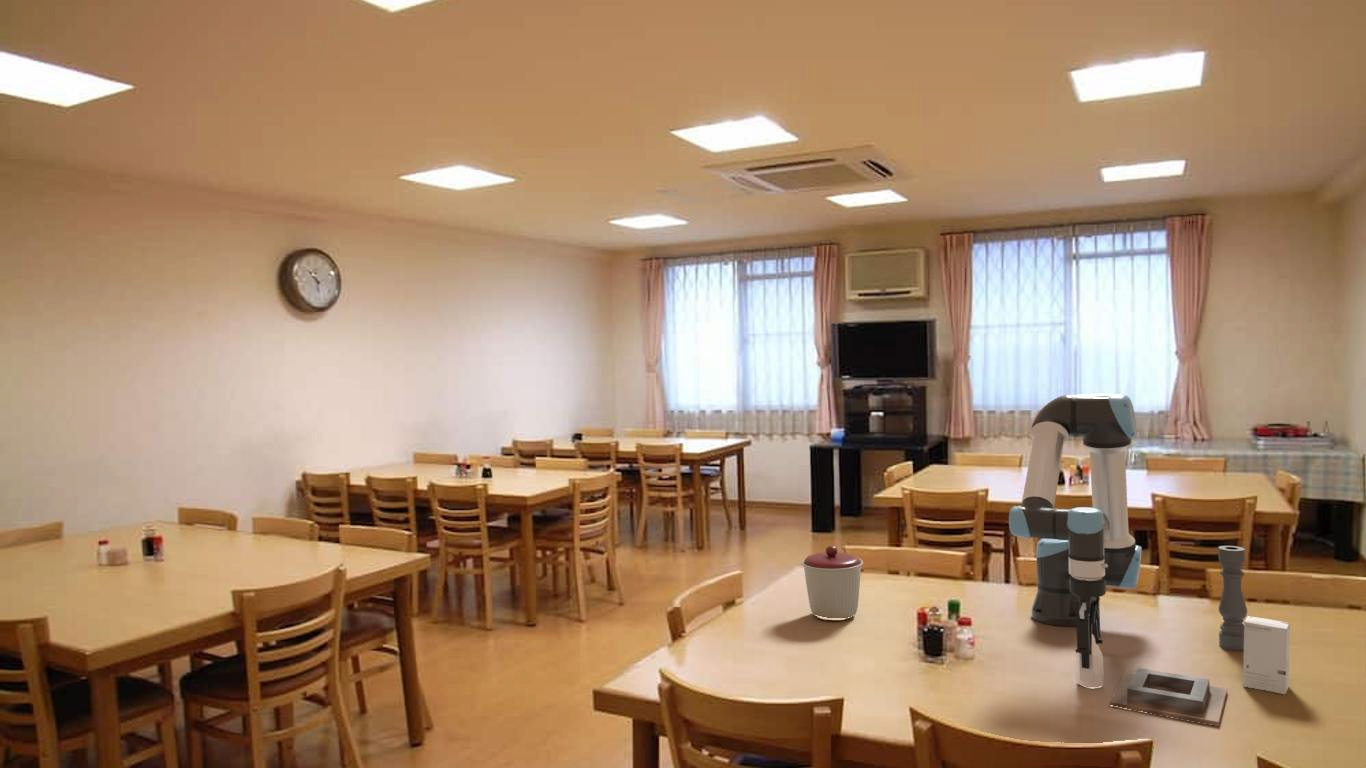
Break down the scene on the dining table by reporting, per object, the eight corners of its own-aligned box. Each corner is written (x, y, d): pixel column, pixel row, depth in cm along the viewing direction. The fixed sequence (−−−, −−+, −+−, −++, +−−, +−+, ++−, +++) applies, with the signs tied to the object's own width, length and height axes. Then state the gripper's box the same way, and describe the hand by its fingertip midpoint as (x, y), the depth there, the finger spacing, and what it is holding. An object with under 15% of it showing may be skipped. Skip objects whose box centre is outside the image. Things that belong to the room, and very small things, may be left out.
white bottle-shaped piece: (1077, 627, 203) (1103, 630, 200) (1078, 678, 203) (1105, 682, 200) (1073, 635, 198) (1100, 638, 195) (1075, 687, 198) (1102, 691, 195)
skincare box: (1242, 687, 194) (1241, 621, 193) (1246, 679, 198) (1245, 614, 198) (1288, 695, 188) (1287, 627, 188) (1291, 686, 193) (1290, 620, 192)
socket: (1109, 706, 187) (1109, 690, 186) (1126, 676, 203) (1125, 661, 203) (1218, 726, 175) (1218, 709, 175) (1226, 693, 191) (1226, 677, 191)
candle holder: (1246, 643, 220) (1243, 546, 220) (1250, 651, 215) (1248, 551, 214) (1217, 641, 223) (1215, 544, 222) (1221, 649, 217) (1218, 550, 217)
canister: (874, 611, 261) (871, 542, 260) (851, 629, 246) (848, 555, 245) (818, 604, 271) (815, 537, 270) (793, 621, 255) (790, 550, 255)
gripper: (1096, 588, 188) (1099, 693, 189) (1113, 568, 204) (1115, 666, 204) (1059, 584, 193) (1062, 687, 194) (1078, 565, 208) (1081, 660, 209)
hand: (1090, 676), depth 199 cm, fingers closed on white bottle-shaped piece, 6 cm apart
